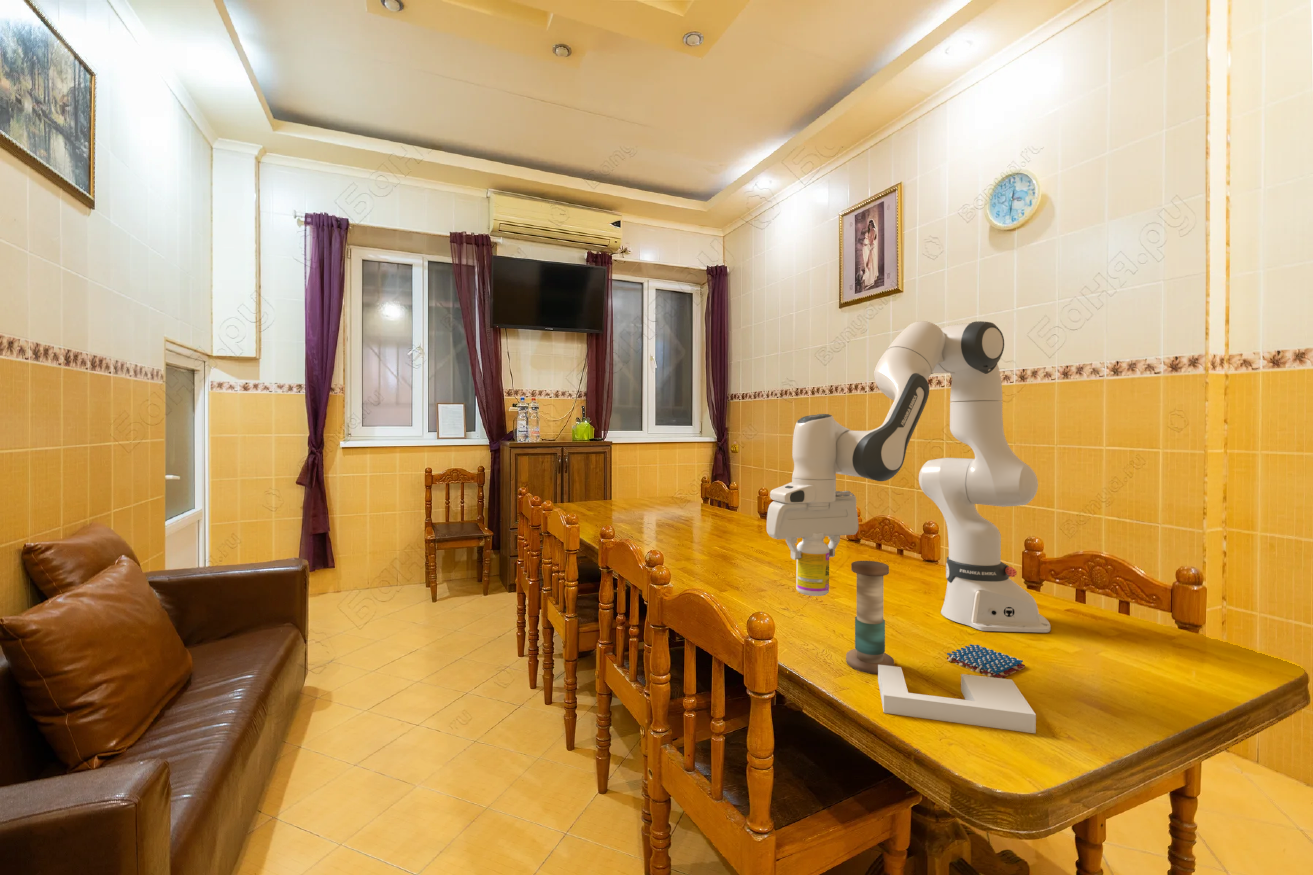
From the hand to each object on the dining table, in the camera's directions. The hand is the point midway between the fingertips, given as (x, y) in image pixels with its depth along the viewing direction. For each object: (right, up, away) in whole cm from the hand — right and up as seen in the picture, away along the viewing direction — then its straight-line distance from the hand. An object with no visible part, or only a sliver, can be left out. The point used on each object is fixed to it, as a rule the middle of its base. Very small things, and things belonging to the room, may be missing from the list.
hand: (812, 557), depth 116 cm
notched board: (+18, -21, -21) cm, 34 cm away
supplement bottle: (0, -8, 0) cm, 8 cm away
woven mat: (+33, -21, -5) cm, 39 cm away
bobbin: (+10, -20, -5) cm, 23 cm away
